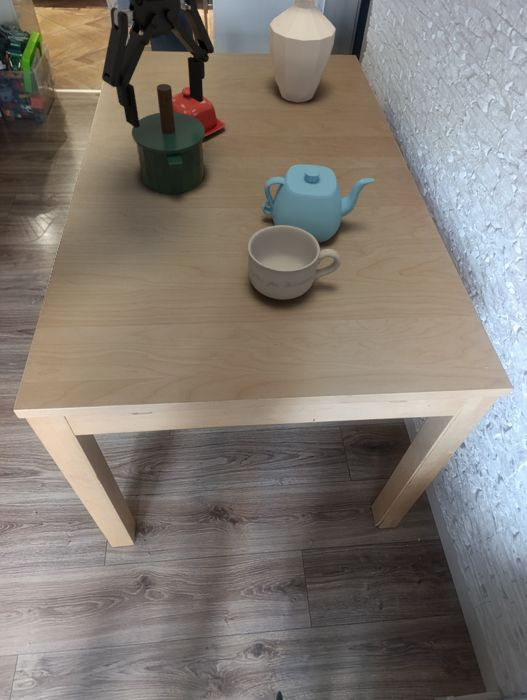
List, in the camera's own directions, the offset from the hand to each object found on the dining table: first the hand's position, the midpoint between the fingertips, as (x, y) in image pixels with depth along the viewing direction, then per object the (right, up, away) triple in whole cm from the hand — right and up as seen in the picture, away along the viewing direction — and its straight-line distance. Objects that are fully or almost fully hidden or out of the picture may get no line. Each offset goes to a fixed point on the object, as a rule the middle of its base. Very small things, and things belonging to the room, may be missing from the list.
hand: (165, 111), depth 86 cm
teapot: (+25, -19, +3) cm, 32 cm away
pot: (-1, -8, +10) cm, 12 cm away
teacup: (+21, -31, -6) cm, 38 cm away
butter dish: (+1, +6, +20) cm, 21 cm away
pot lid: (0, -2, +3) cm, 4 cm away
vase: (+25, +20, +32) cm, 45 cm away
